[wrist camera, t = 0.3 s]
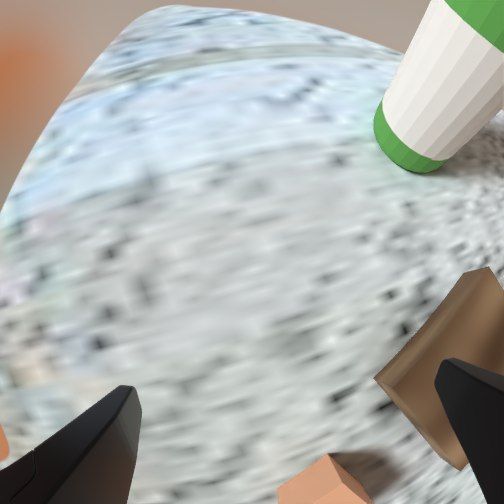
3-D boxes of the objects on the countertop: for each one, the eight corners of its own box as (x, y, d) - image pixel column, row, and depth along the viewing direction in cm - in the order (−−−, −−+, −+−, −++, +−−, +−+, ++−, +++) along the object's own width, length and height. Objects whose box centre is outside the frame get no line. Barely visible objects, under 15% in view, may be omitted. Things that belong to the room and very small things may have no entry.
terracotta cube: (360, 483, 18) (379, 513, 14) (313, 516, 18) (322, 549, 13) (327, 453, 19) (342, 482, 14) (276, 487, 19) (280, 522, 14)
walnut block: (512, 360, 20) (539, 363, 16) (438, 455, 19) (460, 471, 15) (461, 273, 22) (488, 266, 18) (371, 376, 21) (392, 388, 17)
